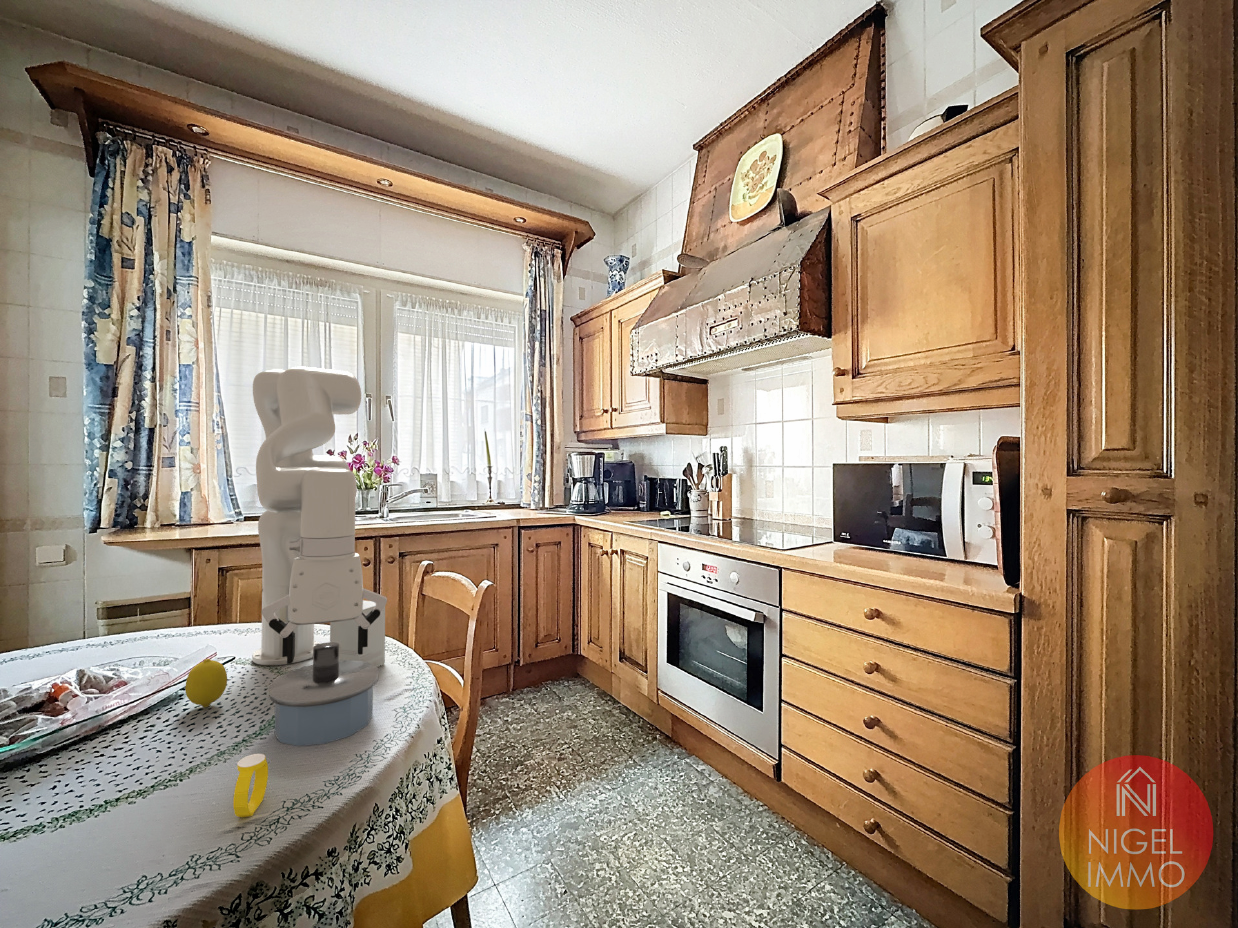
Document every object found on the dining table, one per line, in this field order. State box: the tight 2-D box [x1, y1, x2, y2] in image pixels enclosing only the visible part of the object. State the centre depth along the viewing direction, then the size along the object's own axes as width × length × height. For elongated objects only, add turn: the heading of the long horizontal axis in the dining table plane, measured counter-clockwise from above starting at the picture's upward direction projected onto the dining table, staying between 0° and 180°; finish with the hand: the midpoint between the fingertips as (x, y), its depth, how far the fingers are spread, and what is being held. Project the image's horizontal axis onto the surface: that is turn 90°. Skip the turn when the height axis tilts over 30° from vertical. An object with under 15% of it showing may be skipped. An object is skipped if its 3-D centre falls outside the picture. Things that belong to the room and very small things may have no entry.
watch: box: [233, 753, 269, 818], centre depth 64 cm, size 6×3×6 cm, turn 13°
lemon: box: [185, 658, 228, 708], centre depth 90 cm, size 6×6×8 cm
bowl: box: [274, 686, 374, 747], centre depth 84 cm, size 13×13×6 cm
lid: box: [268, 641, 379, 707], centre depth 84 cm, size 15×15×6 cm
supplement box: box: [329, 599, 386, 668], centre depth 108 cm, size 7×7×13 cm
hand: (326, 656), depth 84 cm, fingers open, 9 cm apart
